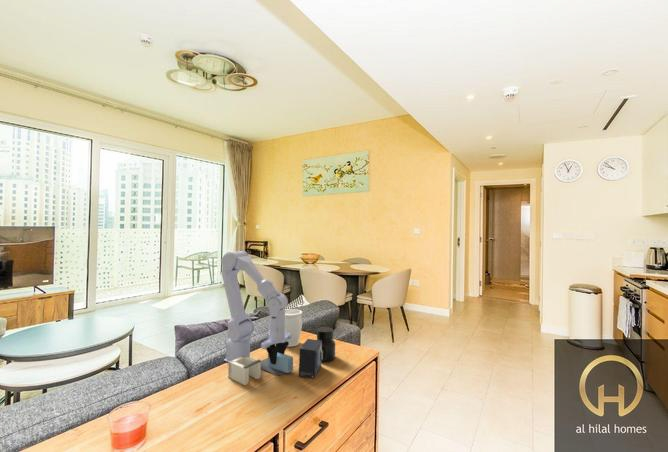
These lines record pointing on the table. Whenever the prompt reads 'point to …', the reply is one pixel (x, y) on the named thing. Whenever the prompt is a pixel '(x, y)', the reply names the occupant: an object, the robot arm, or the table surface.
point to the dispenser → (244, 369)
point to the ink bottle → (326, 343)
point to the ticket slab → (282, 363)
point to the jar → (293, 325)
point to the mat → (271, 370)
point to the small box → (310, 358)
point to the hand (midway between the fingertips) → (276, 362)
